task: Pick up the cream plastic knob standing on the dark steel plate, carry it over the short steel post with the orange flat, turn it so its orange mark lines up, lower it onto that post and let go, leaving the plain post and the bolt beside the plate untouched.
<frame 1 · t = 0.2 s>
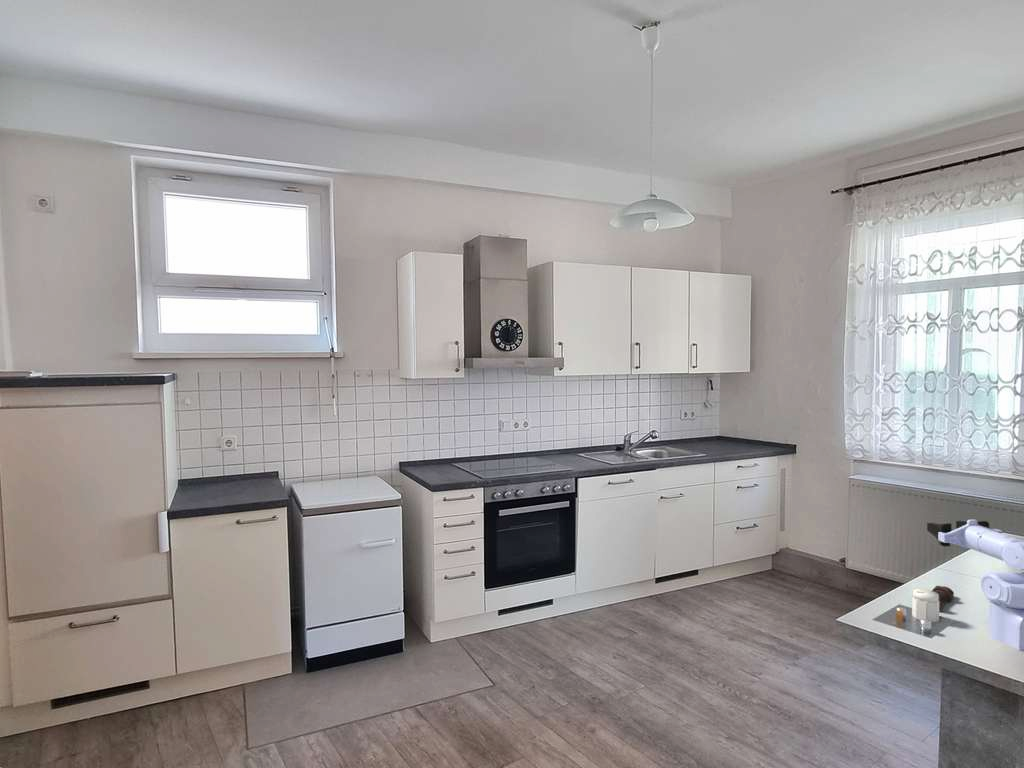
hand: (942, 525, 149), 21 cm above the table, tool horizontal, fingers open, 7 cm apart
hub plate: (913, 624, 139), on the table
knob: (925, 617, 141), point 1 cm above the table, touching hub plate
bolt: (938, 607, 150), on the table
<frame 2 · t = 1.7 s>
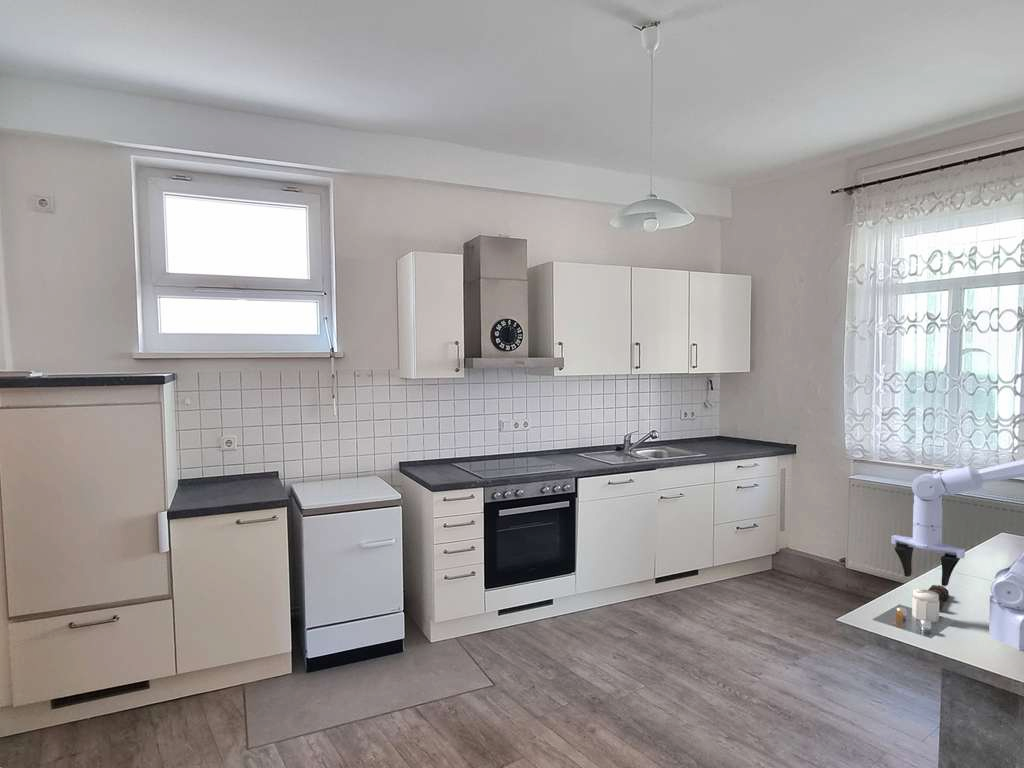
hand: (926, 580, 140), 10 cm above the table, tool pointing down, fingers open, 7 cm apart
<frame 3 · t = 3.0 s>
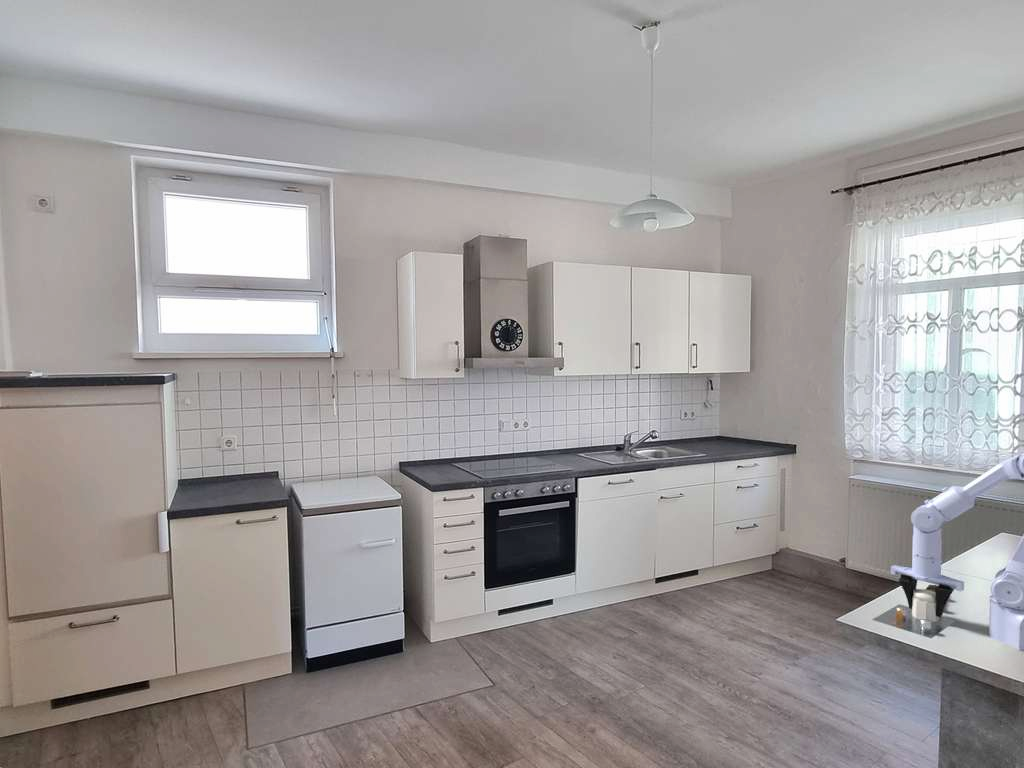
hand: (925, 611, 141), 2 cm above the table, tool pointing down, fingers closed on knob, 5 cm apart
knob: (925, 617, 141), point 1 cm above the table, touching gripper, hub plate
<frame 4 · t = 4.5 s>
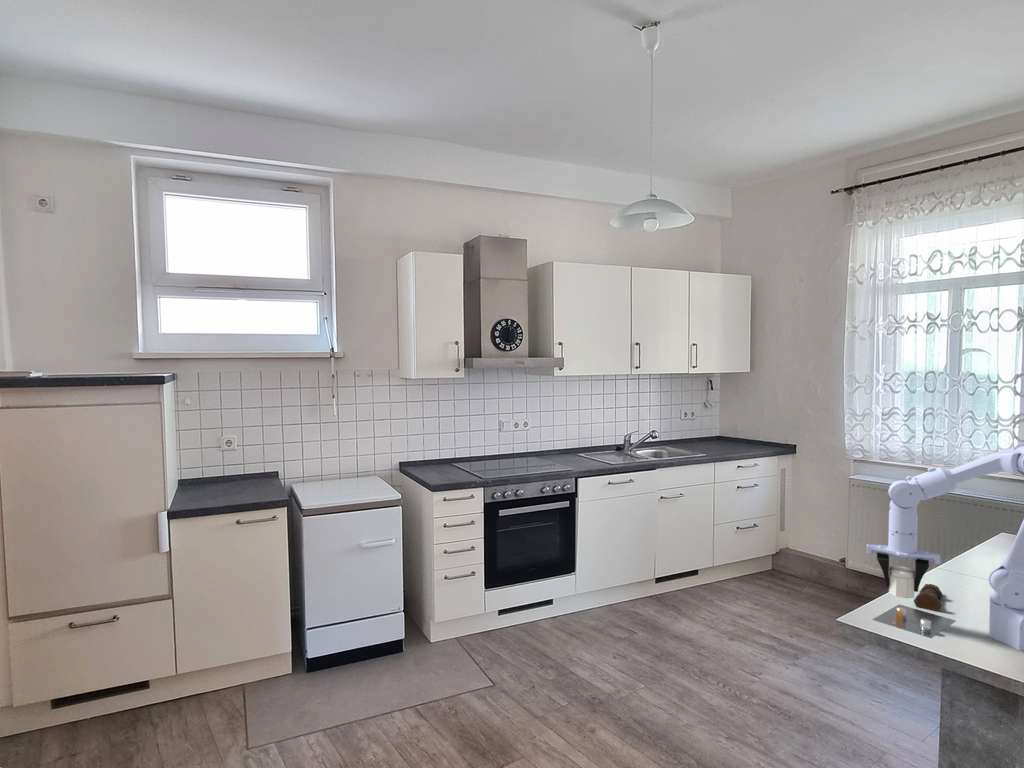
hand: (901, 588, 139), 8 cm above the table, tool pointing down, fingers closed on knob, 5 cm apart
knob: (901, 594, 139), point 7 cm above the table, touching gripper
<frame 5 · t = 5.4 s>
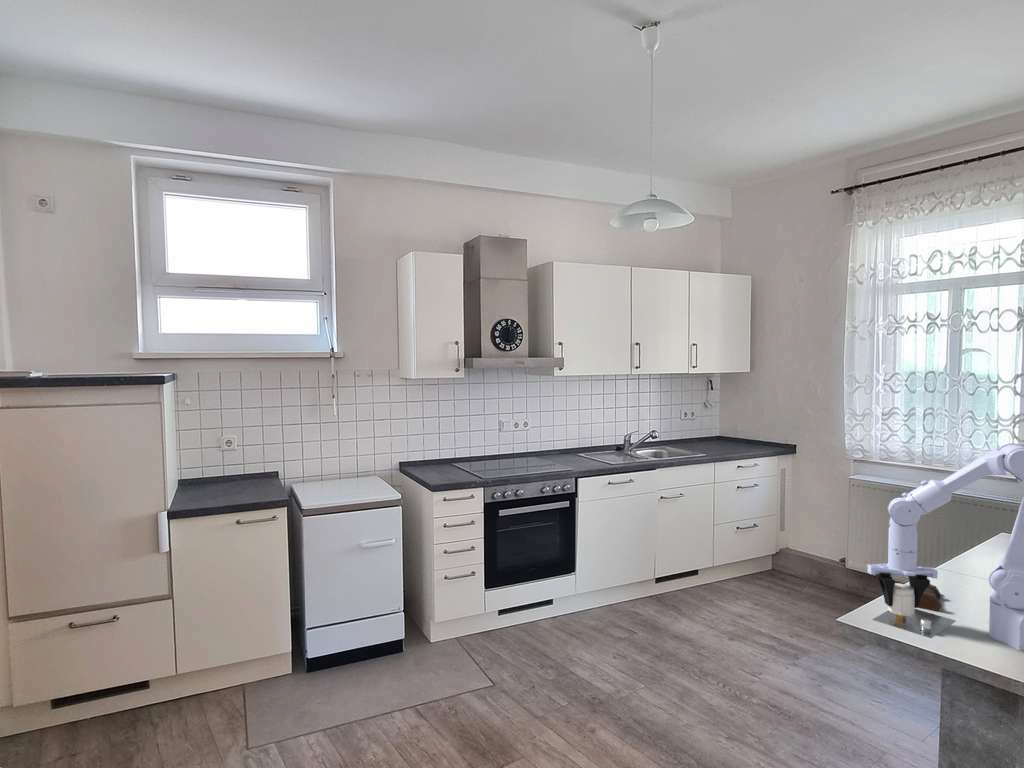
hand: (901, 605, 139), 4 cm above the table, tool pointing down, fingers closed on knob, 5 cm apart
knob: (900, 611, 139), point 3 cm above the table, touching gripper
when the fingers open (4 cm above the table, at t = 6.1 s): knob drops 1 cm, resting on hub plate.
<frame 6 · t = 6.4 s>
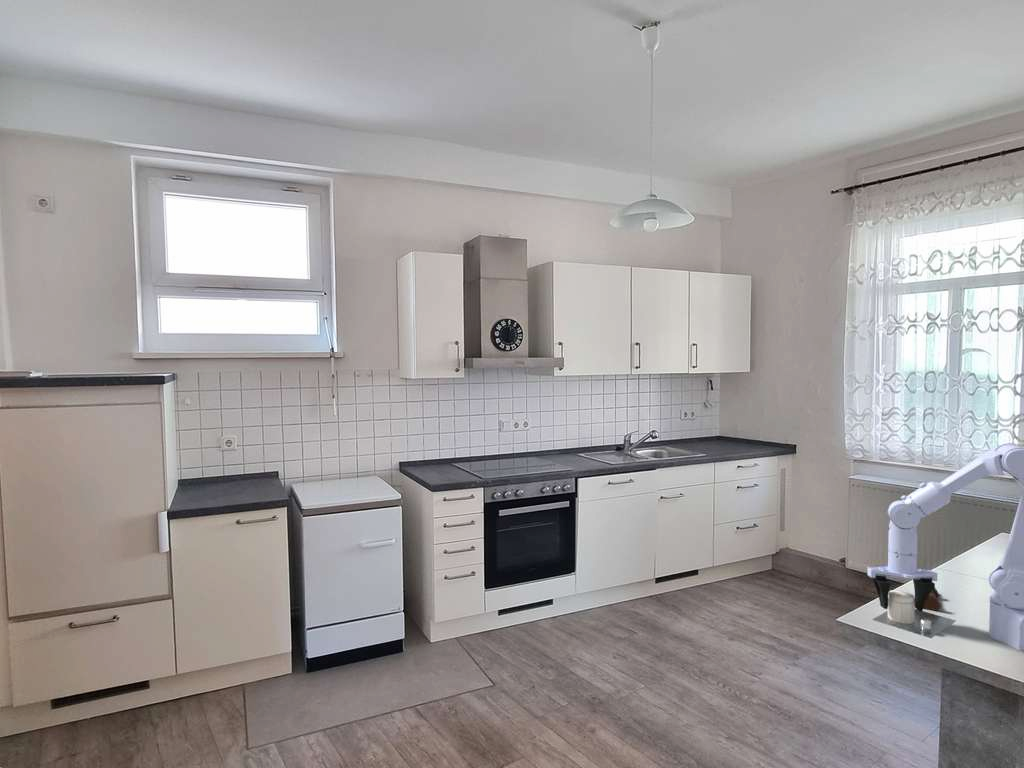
hand: (901, 608, 139), 4 cm above the table, tool pointing down, fingers open, 7 cm apart
knob: (900, 619, 139), point 1 cm above the table, touching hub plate
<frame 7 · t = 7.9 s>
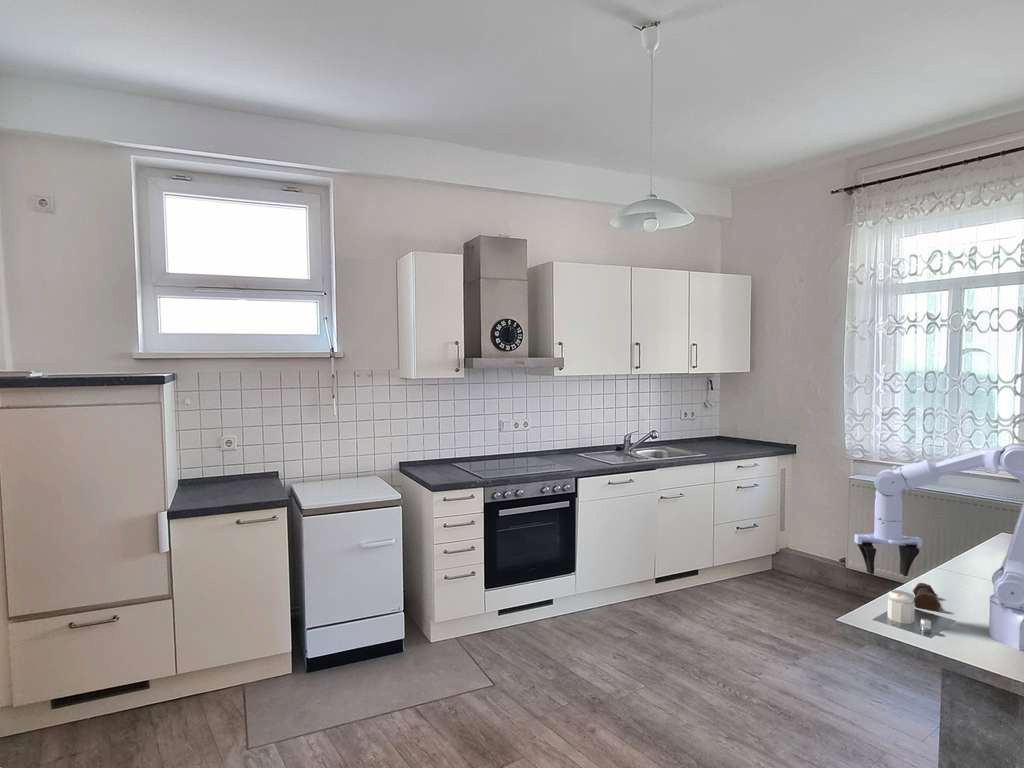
hand: (887, 573, 144), 10 cm above the table, tool pointing down, fingers open, 7 cm apart
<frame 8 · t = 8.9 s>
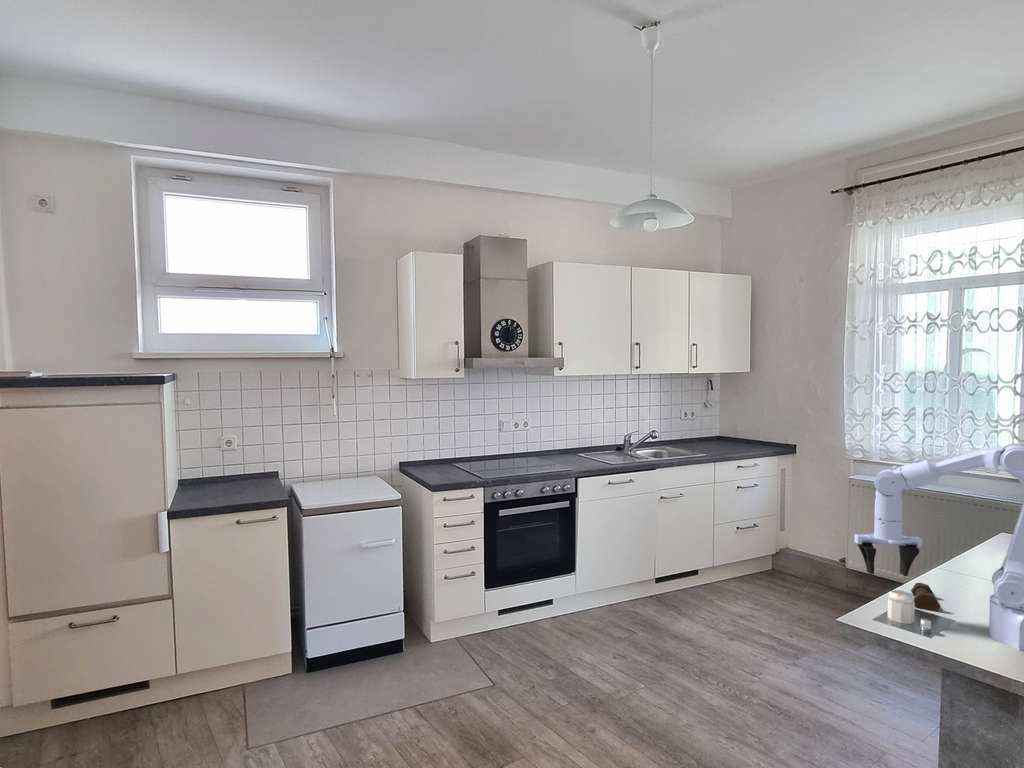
hand: (887, 573, 144), 10 cm above the table, tool pointing down, fingers open, 7 cm apart
at the end: knob 0.1 cm from the target spot, point 1.0 cm above the table; knob tilted 0°; the gripper is holding nothing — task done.
